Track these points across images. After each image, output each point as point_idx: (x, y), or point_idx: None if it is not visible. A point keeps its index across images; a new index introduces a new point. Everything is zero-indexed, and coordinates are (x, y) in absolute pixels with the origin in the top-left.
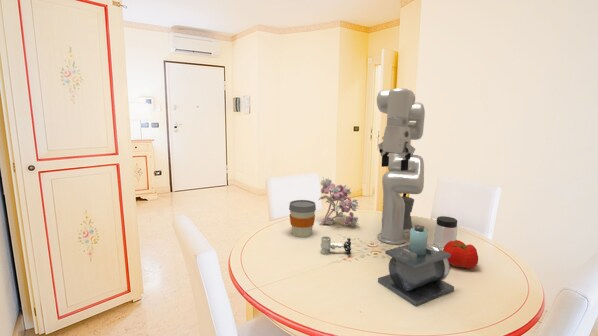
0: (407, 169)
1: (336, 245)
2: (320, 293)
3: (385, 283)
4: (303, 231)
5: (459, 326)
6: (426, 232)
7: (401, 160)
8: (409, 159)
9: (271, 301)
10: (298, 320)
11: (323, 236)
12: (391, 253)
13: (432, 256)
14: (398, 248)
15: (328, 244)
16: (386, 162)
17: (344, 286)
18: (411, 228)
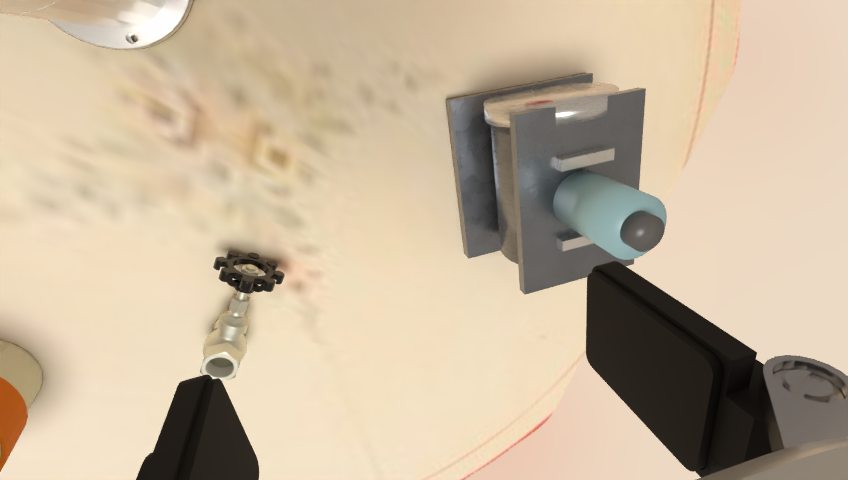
0: (616, 269)
1: (243, 317)
2: (457, 391)
3: (494, 250)
4: (30, 396)
5: (666, 180)
6: (665, 214)
7: (698, 471)
8: (789, 358)
9: (447, 472)
10: (517, 436)
11: (203, 373)
12: (548, 285)
13: (624, 170)
14: (529, 243)
15: (241, 348)
16: (223, 469)
17: (450, 337)
18: (608, 246)
